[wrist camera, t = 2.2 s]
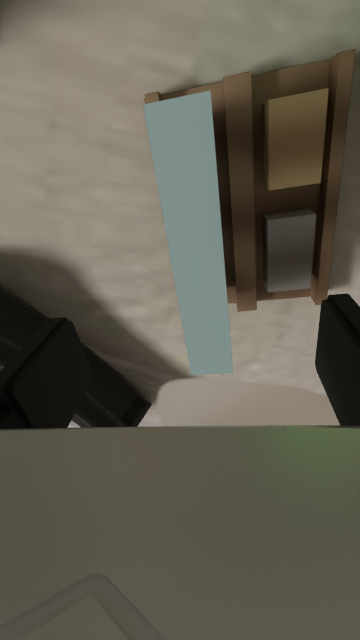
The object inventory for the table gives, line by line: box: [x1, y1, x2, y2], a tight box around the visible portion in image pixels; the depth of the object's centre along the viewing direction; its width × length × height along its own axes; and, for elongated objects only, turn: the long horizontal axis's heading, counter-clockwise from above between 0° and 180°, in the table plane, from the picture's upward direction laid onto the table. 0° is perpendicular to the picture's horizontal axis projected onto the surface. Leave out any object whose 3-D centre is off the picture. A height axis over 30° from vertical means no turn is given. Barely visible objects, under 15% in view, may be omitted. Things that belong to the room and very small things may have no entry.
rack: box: [144, 49, 356, 311], centre depth 28 cm, size 20×16×3 cm
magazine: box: [0, 289, 152, 428], centre depth 36 cm, size 17×3×30 cm
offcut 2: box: [263, 207, 316, 292], centre depth 28 cm, size 7×4×3 cm, turn 9°
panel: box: [143, 91, 233, 375], centre depth 23 cm, size 16×3×14 cm, turn 9°
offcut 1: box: [262, 88, 329, 191], centre depth 23 cm, size 6×4×4 cm, turn 9°
